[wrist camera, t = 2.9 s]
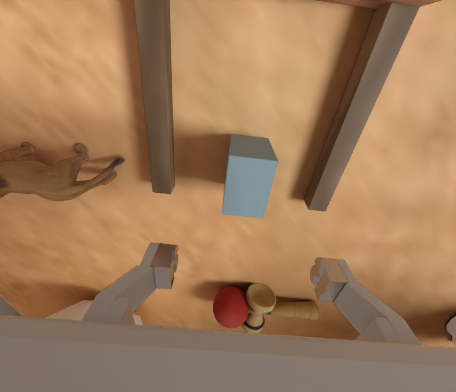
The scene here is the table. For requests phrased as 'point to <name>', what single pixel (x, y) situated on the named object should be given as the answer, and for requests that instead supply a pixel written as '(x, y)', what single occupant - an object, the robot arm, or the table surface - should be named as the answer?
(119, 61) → the table surface
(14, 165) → the lion figurine
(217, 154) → the table surface
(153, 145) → the stop channel
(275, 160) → the block
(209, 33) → the table surface
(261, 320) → the kendama
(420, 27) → the table surface
